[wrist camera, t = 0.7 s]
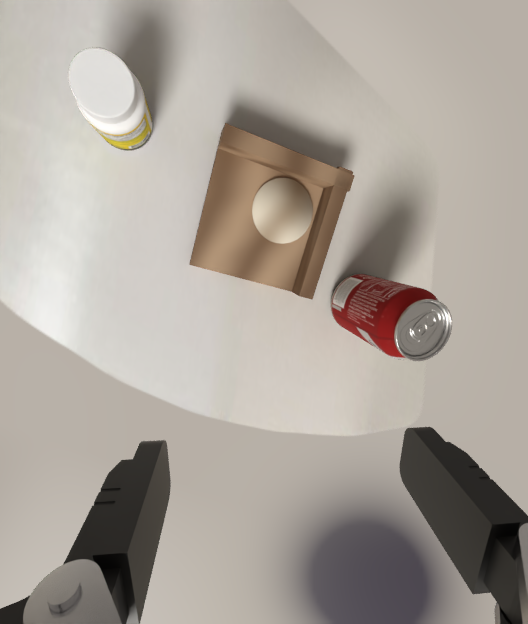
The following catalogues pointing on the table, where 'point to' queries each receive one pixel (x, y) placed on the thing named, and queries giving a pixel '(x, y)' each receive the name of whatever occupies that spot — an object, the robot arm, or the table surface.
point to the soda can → (392, 316)
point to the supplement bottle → (110, 98)
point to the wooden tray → (269, 213)
